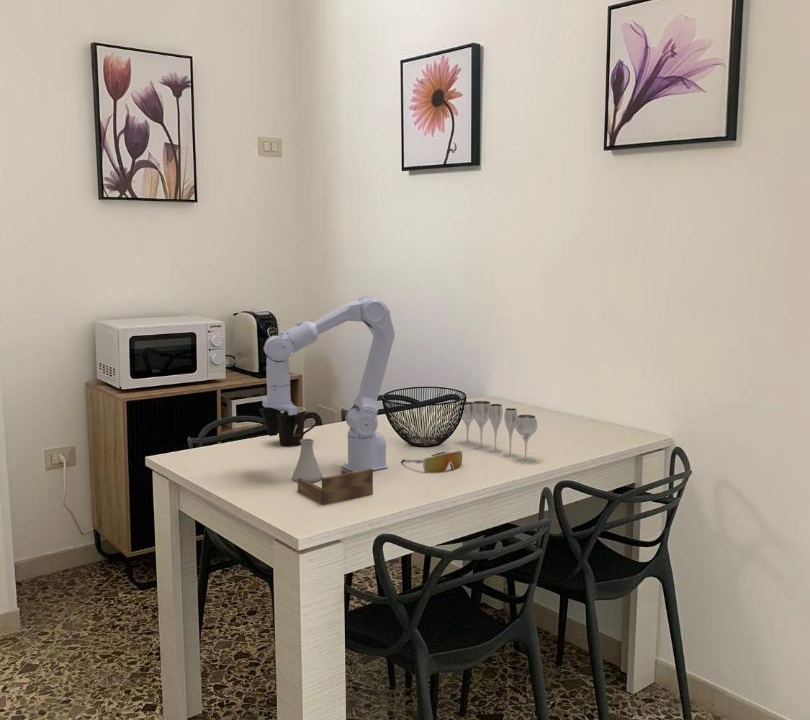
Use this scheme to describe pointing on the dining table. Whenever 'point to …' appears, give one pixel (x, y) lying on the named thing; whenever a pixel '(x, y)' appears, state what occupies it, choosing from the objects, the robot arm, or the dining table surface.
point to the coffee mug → (297, 428)
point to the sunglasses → (440, 461)
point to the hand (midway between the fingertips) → (280, 438)
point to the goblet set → (481, 414)
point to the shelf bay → (339, 486)
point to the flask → (307, 463)
